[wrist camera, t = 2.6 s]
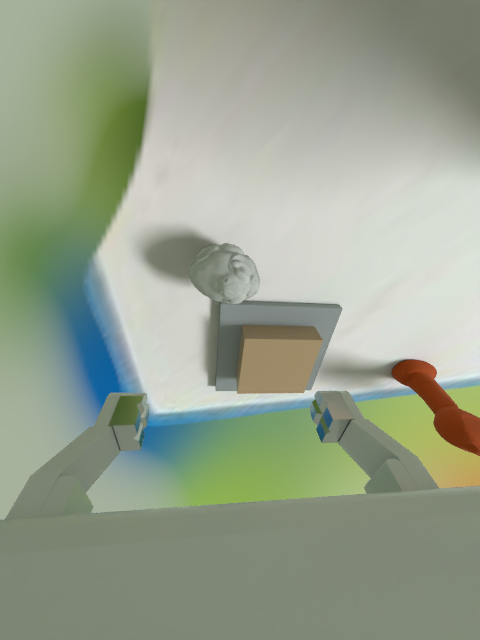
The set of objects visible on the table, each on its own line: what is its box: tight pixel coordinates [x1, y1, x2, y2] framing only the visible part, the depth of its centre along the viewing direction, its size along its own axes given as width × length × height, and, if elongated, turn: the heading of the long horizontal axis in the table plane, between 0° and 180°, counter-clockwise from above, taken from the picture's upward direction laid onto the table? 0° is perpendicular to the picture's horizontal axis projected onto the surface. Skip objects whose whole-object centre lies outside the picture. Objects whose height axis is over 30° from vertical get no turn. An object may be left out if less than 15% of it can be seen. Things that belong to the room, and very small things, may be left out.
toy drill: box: [392, 360, 480, 456], centre depth 36 cm, size 5×19×15 cm, turn 69°
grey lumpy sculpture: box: [189, 243, 260, 304], centre depth 24 cm, size 6×7×7 cm
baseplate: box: [216, 301, 342, 394], centre depth 34 cm, size 16×16×4 cm
